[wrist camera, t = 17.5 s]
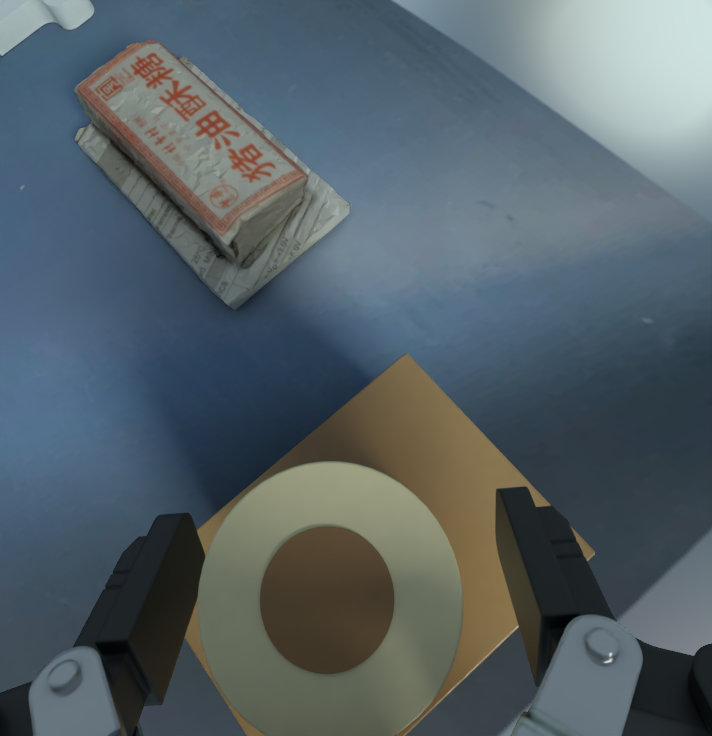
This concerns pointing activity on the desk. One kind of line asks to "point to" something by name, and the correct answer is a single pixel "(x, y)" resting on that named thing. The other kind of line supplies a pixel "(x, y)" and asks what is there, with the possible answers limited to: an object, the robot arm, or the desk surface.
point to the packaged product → (203, 170)
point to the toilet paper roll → (330, 603)
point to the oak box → (431, 485)
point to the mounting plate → (38, 17)
